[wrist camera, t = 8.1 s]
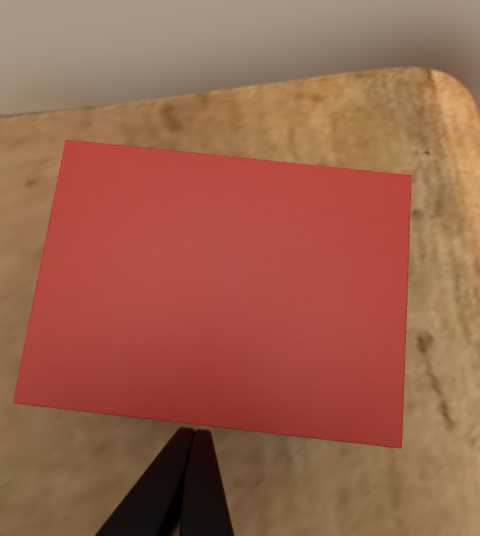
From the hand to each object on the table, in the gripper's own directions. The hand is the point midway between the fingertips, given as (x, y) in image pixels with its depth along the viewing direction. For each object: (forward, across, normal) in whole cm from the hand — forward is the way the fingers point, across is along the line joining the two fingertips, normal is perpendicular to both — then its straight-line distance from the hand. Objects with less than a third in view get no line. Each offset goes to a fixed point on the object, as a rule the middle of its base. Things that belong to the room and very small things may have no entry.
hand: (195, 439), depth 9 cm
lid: (+6, 0, -2) cm, 6 cm away
